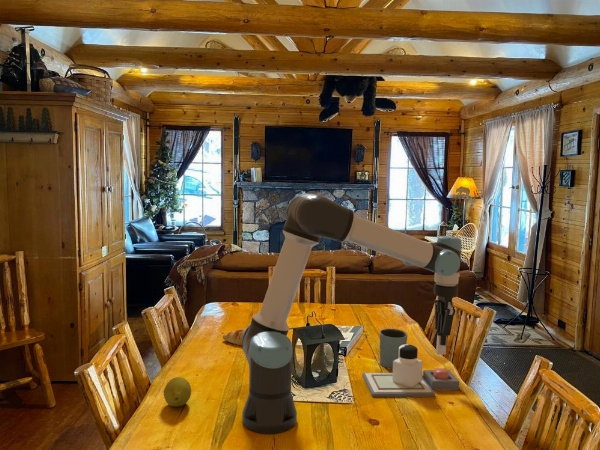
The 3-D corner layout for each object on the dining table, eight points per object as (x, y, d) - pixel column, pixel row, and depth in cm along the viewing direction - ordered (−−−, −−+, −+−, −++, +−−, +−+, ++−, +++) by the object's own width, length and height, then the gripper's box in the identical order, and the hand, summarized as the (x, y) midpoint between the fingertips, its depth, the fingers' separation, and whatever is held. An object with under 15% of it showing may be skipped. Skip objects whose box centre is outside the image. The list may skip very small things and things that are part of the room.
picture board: (434, 396, 152) (435, 391, 152) (372, 396, 151) (372, 392, 151) (419, 375, 168) (419, 371, 168) (362, 375, 167) (362, 371, 167)
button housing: (458, 390, 157) (459, 381, 157) (431, 390, 157) (432, 381, 157) (448, 378, 166) (449, 370, 166) (422, 378, 166) (423, 370, 165)
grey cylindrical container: (388, 357, 185) (390, 326, 184) (411, 365, 178) (413, 333, 176) (372, 364, 178) (373, 332, 177) (395, 372, 171) (397, 339, 169)
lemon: (168, 396, 147) (168, 371, 147) (194, 397, 148) (194, 371, 147) (158, 414, 137) (158, 387, 136) (186, 414, 137) (186, 387, 136)
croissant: (220, 351, 196) (218, 337, 191) (225, 333, 204) (223, 319, 200) (272, 353, 194) (271, 339, 190) (275, 334, 202) (274, 321, 198)
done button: (450, 385, 159) (450, 373, 159) (435, 385, 159) (436, 373, 159) (444, 379, 164) (445, 368, 164) (431, 379, 164) (431, 368, 163)
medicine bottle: (422, 381, 160) (423, 346, 159) (411, 388, 155) (412, 351, 153) (403, 375, 165) (404, 341, 163) (392, 381, 159) (392, 346, 158)
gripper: (465, 288, 152) (459, 361, 154) (449, 279, 165) (444, 347, 167) (442, 287, 152) (436, 360, 154) (428, 279, 164) (423, 346, 167)
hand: (440, 353), depth 160 cm, fingers closed
